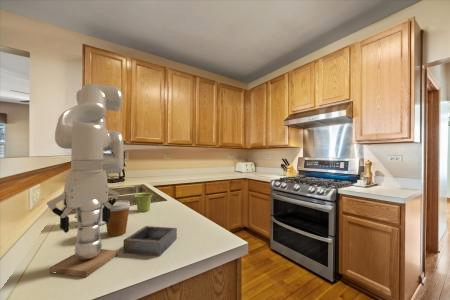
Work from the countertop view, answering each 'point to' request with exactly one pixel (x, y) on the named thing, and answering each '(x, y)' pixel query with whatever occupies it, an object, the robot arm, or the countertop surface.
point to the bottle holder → (150, 247)
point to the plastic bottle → (88, 230)
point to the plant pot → (143, 202)
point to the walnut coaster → (83, 264)
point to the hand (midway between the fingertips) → (86, 226)
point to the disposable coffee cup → (118, 218)
